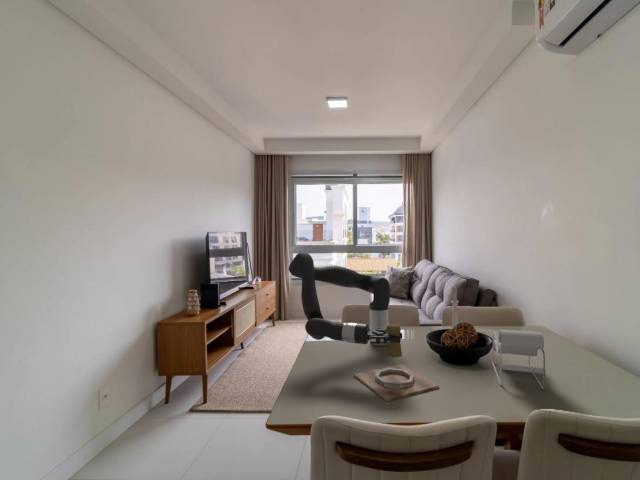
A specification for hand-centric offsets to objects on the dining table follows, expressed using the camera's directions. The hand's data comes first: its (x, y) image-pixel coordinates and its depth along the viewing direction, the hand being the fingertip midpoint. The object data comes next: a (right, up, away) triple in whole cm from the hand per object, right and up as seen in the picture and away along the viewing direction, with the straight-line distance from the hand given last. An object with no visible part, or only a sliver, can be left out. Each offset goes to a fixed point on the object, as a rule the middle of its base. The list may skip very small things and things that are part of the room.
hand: (401, 337), depth 123 cm
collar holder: (-2, -17, +1) cm, 17 cm away
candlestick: (+33, -16, +33) cm, 49 cm away
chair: (+45, -16, +4) cm, 47 cm away
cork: (-2, -7, +1) cm, 7 cm away
